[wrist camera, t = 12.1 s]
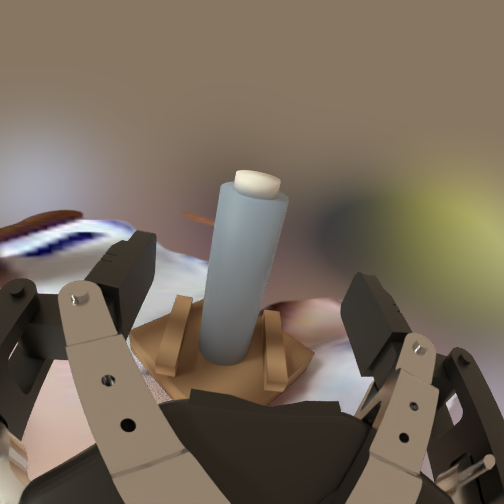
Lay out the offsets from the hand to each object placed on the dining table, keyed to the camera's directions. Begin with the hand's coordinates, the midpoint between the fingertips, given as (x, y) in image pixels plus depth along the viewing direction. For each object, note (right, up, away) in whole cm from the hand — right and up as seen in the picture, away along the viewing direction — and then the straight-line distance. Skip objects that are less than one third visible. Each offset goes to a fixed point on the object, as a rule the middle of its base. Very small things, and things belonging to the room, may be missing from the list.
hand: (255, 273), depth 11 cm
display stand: (-4, -11, +18) cm, 22 cm away
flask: (-3, -9, +17) cm, 19 cm away
